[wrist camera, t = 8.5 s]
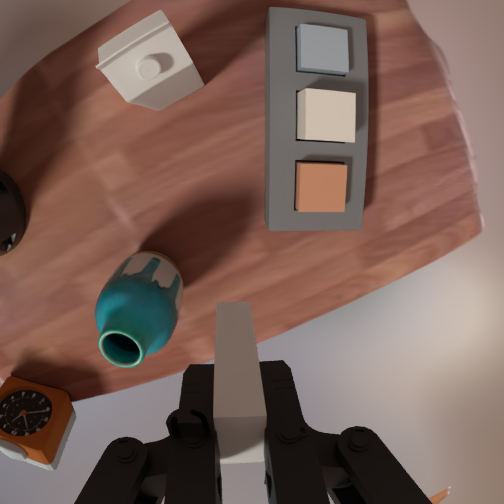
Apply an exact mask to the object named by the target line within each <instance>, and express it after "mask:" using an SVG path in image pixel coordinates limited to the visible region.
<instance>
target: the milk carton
mask: <svg viewBox="0 0 504 504" xmlns="http://www.w3.org/2000/svg"><path fill="white" fill-rule="evenodd" d="M98 54H99V64H98V65H97V66H96V68H97V69H100V70H101V71H102V72H103V73H104V75H105V76H106V77H107V78H108V80H109V81H110V82H111V83H112V84H113V86H114V87H115V88H116V89H117V91H118V92H119V93H120V94H121V96H122V97H123V98H124V99H125V100H126V102H129V103H133V104H136V105H140V106H144V107H147V108H151V109H154V110H158V111H161V110H163V109H165V108H166V107H168V106H170V105H172V104H173V103H175V102H177V101H178V100H180V99H182V98H184V97H185V96H187V95H189V94H191V93H193V92H194V91H196V90H198V89H200V88H202V87H203V86H204V83H203V81H202V79H201V77H200V75H199V73H198V71H197V69H196V67H195V65H194V63H193V61H192V60H191V58H190V56H189V54H188V53H187V51H186V49H185V48H184V46H183V44H182V42H181V41H180V39H179V37H178V36H177V34H176V32H175V31H174V29H173V27H172V25H171V24H170V22H169V21H168V19H167V18H166V16H165V15H164V13H163V12H162V10H159V11H157V12H155V13H153V14H152V15H150V16H148V17H146V18H145V19H143V20H141V21H139V22H138V23H136V24H134V25H133V26H131V27H129V28H128V29H126V30H125V31H123V32H122V33H120V34H118V35H117V36H115V37H114V38H112V39H111V40H109V41H108V42H106V43H105V44H104V45H102V46H101V47H99V48H98Z"/></svg>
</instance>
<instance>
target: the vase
mask: <svg viewBox="0 0 504 504" xmlns="http://www.w3.org/2000/svg"><path fill="white" fill-rule="evenodd" d="M182 299H183V279H182V276H181V273H180V271H179V269H178V267H177V266H176V264H175V263H174V262H173V261H172V260H171V259H170V258H169V257H167V256H165V255H164V254H161V253H159V252H155V251H142V252H138V253H135V254H133V255H131V256H130V257H128V258H127V259H126V260H125V261H124V262H122V263H121V264H120V265H119V266H118V268H117V269H116V270H115V271H114V273H113V274H112V275H111V277H110V278H109V279H108V281H107V282H106V284H105V286H104V287H103V289H102V291H101V293H100V295H99V298H98V300H97V303H96V307H95V320H96V325H97V328H98V330H99V332H100V336H99V340H98V345H99V349H100V351H101V353H102V355H103V356H104V357H105V358H106V359H107V360H108V361H109V362H111V363H112V364H114V365H116V366H119V367H124V368H132V367H135V366H137V365H139V364H140V363H141V362H142V361H143V359H144V358H145V356H146V355H150V354H153V353H155V352H157V351H159V350H160V349H162V348H163V347H164V346H165V345H166V344H167V342H168V341H169V339H170V338H171V336H172V334H173V332H174V329H175V327H176V324H177V321H178V317H179V314H180V309H181V305H182Z"/></svg>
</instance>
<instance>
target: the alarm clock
mask: <svg viewBox="0 0 504 504" xmlns="http://www.w3.org/2000/svg"><path fill="white" fill-rule="evenodd" d="M75 419H76V413H75V411H74V408H73V406H72V403H71V400H70V398H69V395H68V393H67V392H65V391H64V390H60V389H56V388H52V387H48V386H44V385H41V384H37V383H34V382H30V381H27V380H23V379H20V378H17V377H14V376H9V377H8V378H7V379H6V380H5V382H4V383H3V385H2V386H1V388H0V451H2V452H3V453H4V454H6V455H7V456H8V457H10V458H13V459H16V460H23V461H25V462H28V463H31V464H33V465H36V466H38V467H41V468H44V469H47V470H50V471H52V470H55V469H57V467H58V464H59V461H60V458H61V456H62V453H63V450H64V448H65V444H66V442H67V439H68V437H69V434H70V432H71V429H72V427H73V424H74V422H75Z"/></svg>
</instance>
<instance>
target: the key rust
mask: <svg viewBox="0 0 504 504" xmlns="http://www.w3.org/2000/svg"><path fill="white" fill-rule="evenodd" d="M346 182H347V165H344V164H341V163H338V162H334V161H316V160H295V187H294V207H295V208H296V209H297V210H298V211H299V212H344V211H345V197H346Z"/></svg>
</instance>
